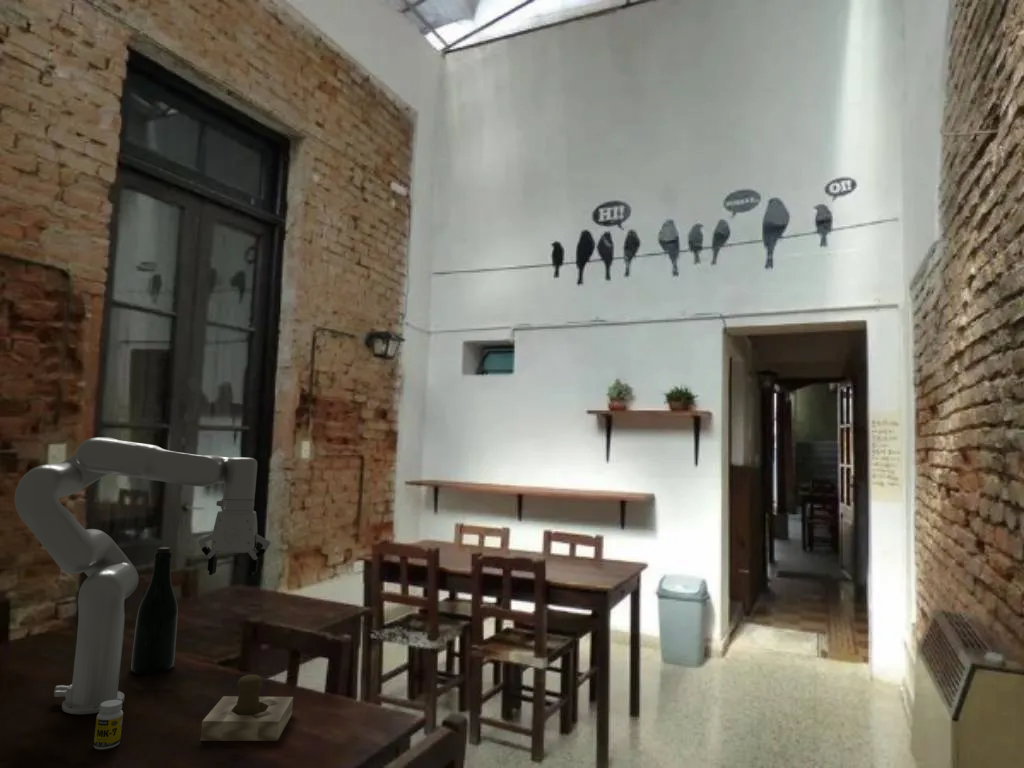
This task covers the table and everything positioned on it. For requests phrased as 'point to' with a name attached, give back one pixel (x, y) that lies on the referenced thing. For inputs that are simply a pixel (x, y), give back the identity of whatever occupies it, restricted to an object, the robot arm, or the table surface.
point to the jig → (247, 720)
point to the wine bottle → (156, 621)
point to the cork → (248, 695)
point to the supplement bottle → (108, 725)
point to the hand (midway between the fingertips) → (232, 574)
